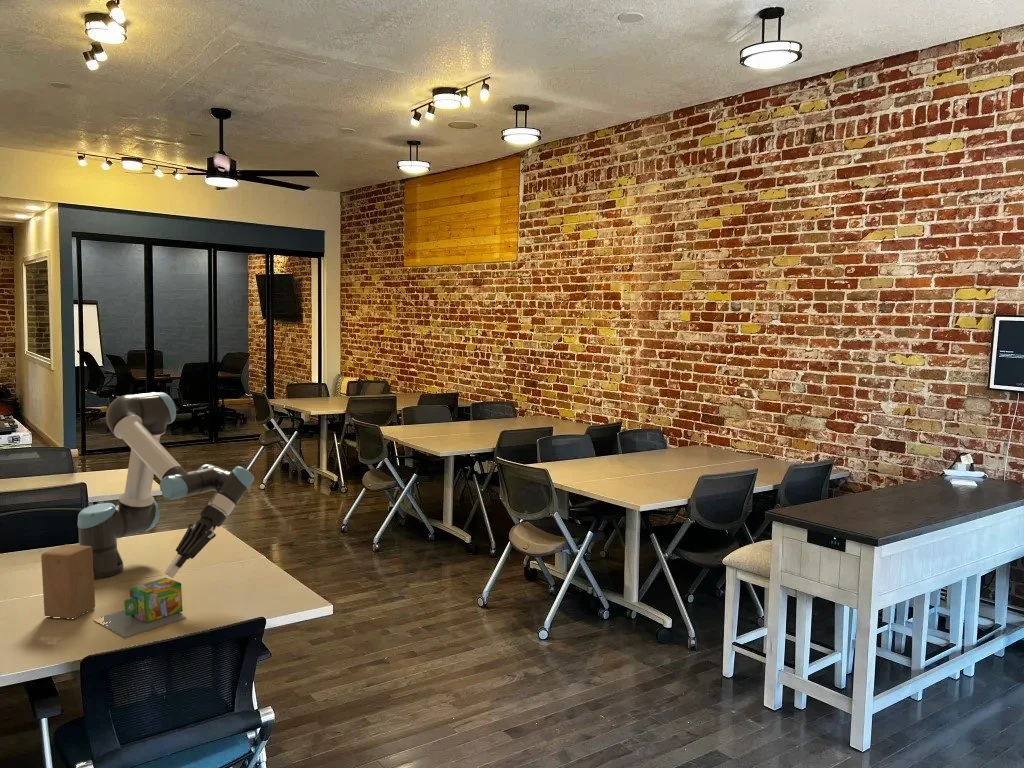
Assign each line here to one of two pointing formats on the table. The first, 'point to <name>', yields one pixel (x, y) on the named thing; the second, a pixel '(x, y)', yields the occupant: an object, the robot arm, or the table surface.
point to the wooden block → (68, 581)
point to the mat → (136, 623)
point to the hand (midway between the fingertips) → (168, 575)
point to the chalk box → (154, 600)
